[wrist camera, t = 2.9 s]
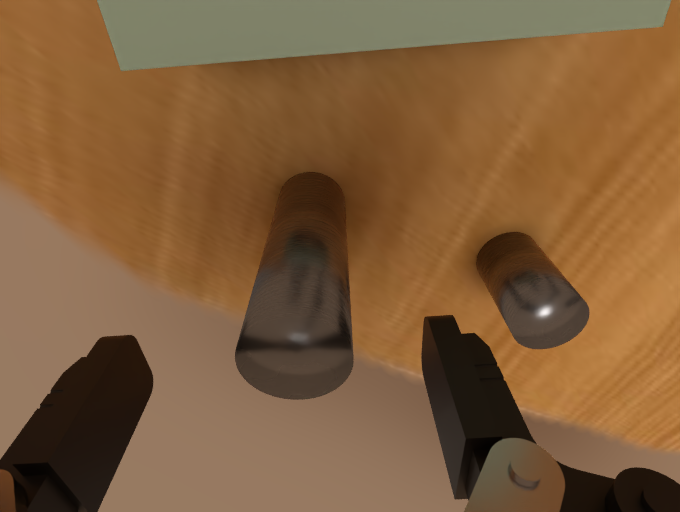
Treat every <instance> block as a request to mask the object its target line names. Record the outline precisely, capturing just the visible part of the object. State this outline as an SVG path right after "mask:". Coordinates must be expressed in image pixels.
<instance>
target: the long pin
mask: <svg viewBox="0 0 680 512" xmlns="http://www.w3.org/2000/svg"><path fill="white" fill-rule="evenodd" d="M235 361H236V365H237V368H238V370H239V372H240V374H241V375H242V376H243V378H244V379H245V380H246V381H247V382H248V383H249V384H250V385H252V386H253V387H255V388H256V389H258V390H260V391H262V392H264V393H266V394H269V395H272V396H275V397H279V398H284V399H310V398H315V397H319V396H322V395H325V394H327V393H329V392H331V391H333V390H335V389H336V388H338V387H339V386H340V385H342V384H343V382H344V381H345V380H346V379H347V378H348V376H349V375H350V373H351V370H352V367H353V342H352V323H351V305H350V287H349V269H348V250H347V232H346V214H345V199H344V195H343V192H342V190H341V188H340V187H339V185H338V184H337V183H336V182H335V181H334V180H333V179H331V178H330V177H328V176H326V175H323V174H320V173H315V172H306V173H301V174H298V175H296V176H294V177H292V178H291V179H290V180H288V181H287V182H286V183H285V185H284V186H283V188H282V190H281V192H280V195H279V198H278V202H277V206H276V209H275V213H274V216H273V220H272V223H271V227H270V230H269V234H268V237H267V241H266V244H265V248H264V252H263V255H262V259H261V262H260V266H259V269H258V273H257V276H256V280H255V283H254V287H253V290H252V294H251V298H250V301H249V305H248V308H247V312H246V315H245V319H244V322H243V326H242V329H241V333H240V337H239V340H238V344H237V347H236V352H235Z"/></svg>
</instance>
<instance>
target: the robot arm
mask: <svg viewBox="0 0 680 512" xmlns="http://www.w3.org/2000/svg"><path fill="white" fill-rule="evenodd" d="M422 371H423V377H424V381H425V385H426V389H427V393H428V397H429V400H430V404H431V408H432V412H433V416H434V420H435V424H436V428H437V432H438V436H439V440H440V443H441V447H442V451H443V455H444V459H445V463H446V467H447V471H448V475H449V479H450V483H451V487H452V490H453V494H454V498H455V499H468V504H467V506H466V508H465V511H464V512H680V484H678V483H677V482H675V481H674V480H672V479H671V478H669V477H667V476H665V475H663V474H661V473H659V472H656V471H653V470H650V469H646V468H629V469H625V470H623V471H622V472H620V473H619V474H618V475H617V477H616V479H612V478H608V477H604V476H600V475H596V474H592V473H588V472H584V471H580V470H576V469H573V468H570V467H568V466H566V465H563V464H561V463H559V462H558V461H556V460H555V459H554V458H553V457H552V456H551V455H550V454H549V453H548V452H547V451H546V450H544V449H543V448H542V447H540V446H539V445H537V444H536V442H535V441H534V440H533V438H532V436H531V434H530V433H529V430H528V428H527V426H526V424H525V422H524V420H523V417H522V415H521V413H520V411H519V409H518V407H517V405H516V403H515V400H514V398H513V396H512V394H511V392H510V390H509V388H508V386H507V383H506V381H504V377H503V375H502V373H501V371H500V369H499V367H498V366H497V362H496V360H495V358H494V356H493V354H492V352H491V349H490V347H489V346H488V345H487V344H486V343H485V342H484V341H483V340H482V339H480V338H479V337H478V336H477V335H476V334H475V333H467V334H461V332H460V330H459V327H458V325H457V322H456V320H455V318H454V316H453V315H444V316H429V317H425V318H424V326H423V341H422ZM152 388H153V375H152V371H151V369H150V367H149V365H148V363H147V361H146V358H145V356H144V354H143V352H142V350H141V348H140V346H139V344H138V341H137V339H136V338H135V337H134V336H132V335H124V336H107V337H102V338H100V339H99V340H98V341H97V342H96V344H95V345H94V347H93V348H92V350H91V351H90V352H89V354H88V355H87V357H81V358H80V359H79V360H78V361H77V362H75V364H73V365H72V366H71V367H70V368H68V369H67V370H66V371H65V372H64V373H63V374H62V375H61V377H60V378H59V379H58V381H57V382H56V383H55V385H54V386H53V388H52V389H51V393H50V394H48V395H47V396H46V397H45V399H44V400H43V402H42V403H41V404H40V408H39V409H37V410H36V411H35V412H34V414H33V415H32V417H31V418H30V419H29V421H28V422H27V424H26V425H25V426H24V428H23V429H22V430H21V432H20V434H19V435H18V436H17V438H16V439H15V440H14V442H13V443H12V444H11V446H10V447H9V448H8V450H7V451H6V453H5V454H4V455H3V457H2V458H1V460H0V512H98V509H99V507H100V505H101V503H102V501H103V498H104V496H105V494H106V492H107V490H108V488H109V485H110V483H111V481H112V479H113V477H114V474H115V472H116V470H117V468H118V465H119V463H120V461H121V459H122V457H123V455H124V453H125V450H126V448H127V446H128V444H129V442H130V439H131V437H132V435H133V433H134V431H135V428H136V426H137V424H138V422H139V420H140V417H141V415H142V413H143V411H144V409H145V406H146V404H147V402H148V400H149V398H150V396H151V393H152Z"/></svg>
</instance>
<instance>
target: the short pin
mask: <svg viewBox="0 0 680 512" xmlns="http://www.w3.org/2000/svg"><path fill="white" fill-rule="evenodd" d="M476 265H477V270H478V272H479V274H480V275H481V277H482V279H483V281H484V283H485V285H486V287H487V289H488V290H489V292H490V294H491V296H492V298H493V300H494V302H495V303H496V305H497V307H498V309H499V311H500V313H501V315H502V316H503V318H504V320H505V322H506V324H507V326H508V328H509V329H510V331H511V333H512V335H513V337H514V339H515V340H516V341H517V342H518V343H519V344H521V345H522V346H525V347H528V348H532V349H548V348H553V347H556V346H559V345H562V344H564V343H566V342H568V341H570V340H571V339H573V338H574V337H575V336H577V335H578V334H579V333H580V332H581V331H582V330H583V328H584V327H585V325H586V324H587V321H588V319H589V307H588V305H587V303H586V302H585V301H584V300H583V298H582V297H581V296H580V295H579V294H578V292H577V291H576V290H575V289H574V288H573V286H572V285H571V284H570V283H569V282H568V281H567V279H566V278H565V277H564V276H563V275H562V273H561V272H560V271H559V270H558V269H557V267H556V266H555V265H554V264H553V263H552V261H551V260H550V259H549V258H548V257H547V256H546V254H545V253H544V252H543V251H542V250H541V248H540V247H539V246H538V245H537V244H536V242H535V241H534V240H533V239H532V238H531V237H530V236H528V235H526V234H523V233H518V232H510V233H505V234H501V235H499V236H497V237H495V238H493V239H491V240H490V241H489V242H487V243H486V244H485V245H484V246H483V247H482V249H481V250H480V252H479V254H478V257H477V262H476Z"/></svg>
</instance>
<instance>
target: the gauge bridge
mask: <svg viewBox="0 0 680 512" xmlns="http://www.w3.org/2000/svg"><path fill="white" fill-rule="evenodd" d="M97 2H98V5H99V8H100V10H101V13H102V16H103V19H104V22H105V25H106V28H107V31H108V34H109V37H110V40H111V43H112V46H113V49H114V52H115V55H116V57H117V60H118V63H119V66H120V69H121V71H126V70H138V69H151V68H163V67H175V66H187V65H200V64H212V63H224V62H236V61H249V60H261V59H273V58H285V57H298V56H310V55H322V54H335V53H347V52H359V51H371V50H384V49H396V48H408V47H420V46H433V45H445V44H457V43H469V42H482V41H494V40H506V39H518V38H531V37H543V36H555V35H567V34H580V33H592V32H604V31H616V30H629V29H641V28H653V27H663V24H664V21H665V18H666V15H667V12H668V9H669V5H670V2H671V0H97Z"/></svg>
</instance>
